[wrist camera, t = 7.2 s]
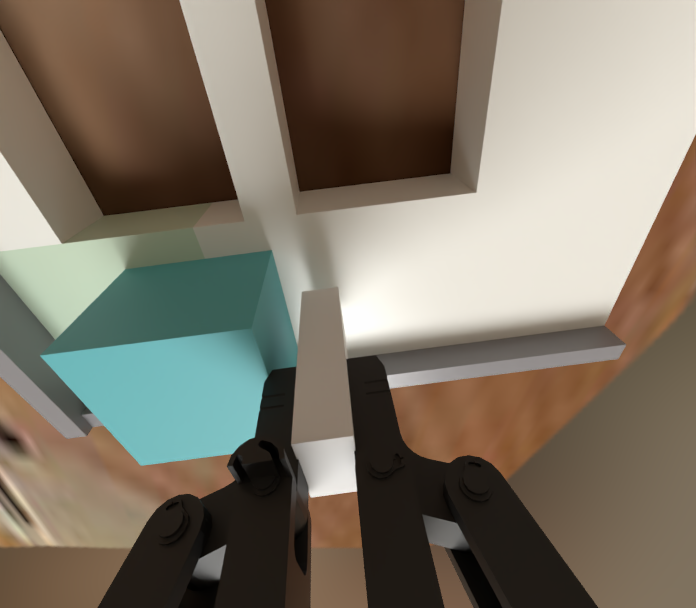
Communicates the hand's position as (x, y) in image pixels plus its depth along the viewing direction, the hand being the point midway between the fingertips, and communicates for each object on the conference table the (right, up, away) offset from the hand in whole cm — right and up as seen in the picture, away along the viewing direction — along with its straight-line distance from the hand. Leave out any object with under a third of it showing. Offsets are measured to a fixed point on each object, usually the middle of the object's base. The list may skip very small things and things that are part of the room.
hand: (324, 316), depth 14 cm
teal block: (-5, 0, +1) cm, 5 cm away
